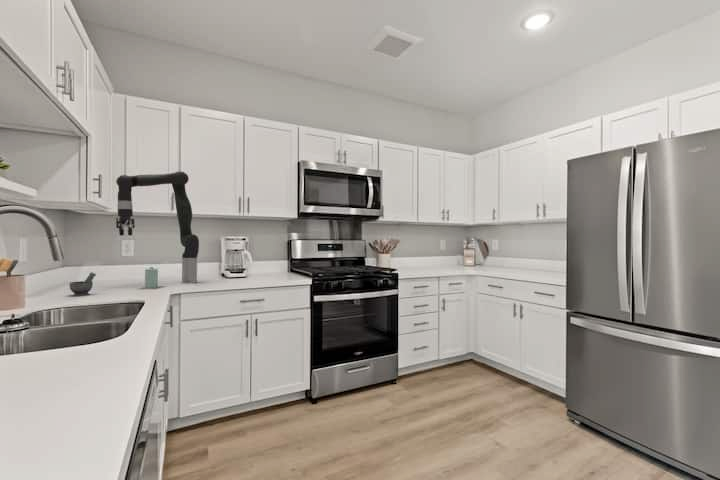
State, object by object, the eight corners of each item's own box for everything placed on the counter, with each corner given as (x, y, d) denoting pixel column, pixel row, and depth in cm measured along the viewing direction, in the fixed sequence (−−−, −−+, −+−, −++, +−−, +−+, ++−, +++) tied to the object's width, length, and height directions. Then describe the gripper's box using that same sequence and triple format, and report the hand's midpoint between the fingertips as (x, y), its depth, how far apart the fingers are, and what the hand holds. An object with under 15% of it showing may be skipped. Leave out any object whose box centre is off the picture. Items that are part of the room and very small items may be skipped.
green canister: (148, 286, 208) (148, 266, 208) (159, 286, 209) (159, 266, 209) (142, 288, 202) (143, 267, 202) (154, 288, 203) (154, 267, 203)
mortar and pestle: (65, 297, 177) (65, 273, 177) (73, 294, 186) (74, 271, 185) (92, 296, 180) (92, 273, 180) (99, 293, 189) (99, 271, 189)
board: (147, 288, 212) (147, 286, 212) (166, 288, 213) (166, 286, 213) (135, 291, 199) (135, 289, 199) (156, 291, 200) (156, 289, 200)
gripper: (124, 207, 205) (125, 235, 205) (138, 209, 219) (139, 235, 219) (111, 208, 204) (112, 235, 204) (125, 209, 218) (126, 235, 219)
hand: (126, 235), depth 212 cm, fingers open, 8 cm apart
